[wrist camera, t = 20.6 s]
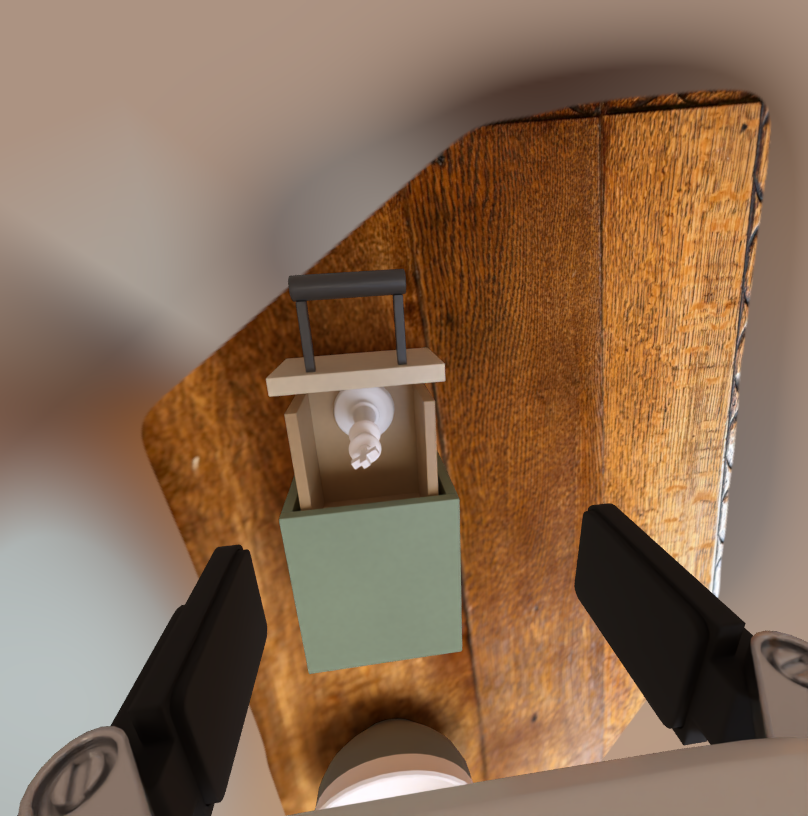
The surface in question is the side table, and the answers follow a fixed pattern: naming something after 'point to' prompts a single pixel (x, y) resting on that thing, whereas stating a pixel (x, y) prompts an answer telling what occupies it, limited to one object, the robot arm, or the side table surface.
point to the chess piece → (364, 421)
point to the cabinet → (376, 578)
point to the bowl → (391, 765)
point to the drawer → (327, 375)
